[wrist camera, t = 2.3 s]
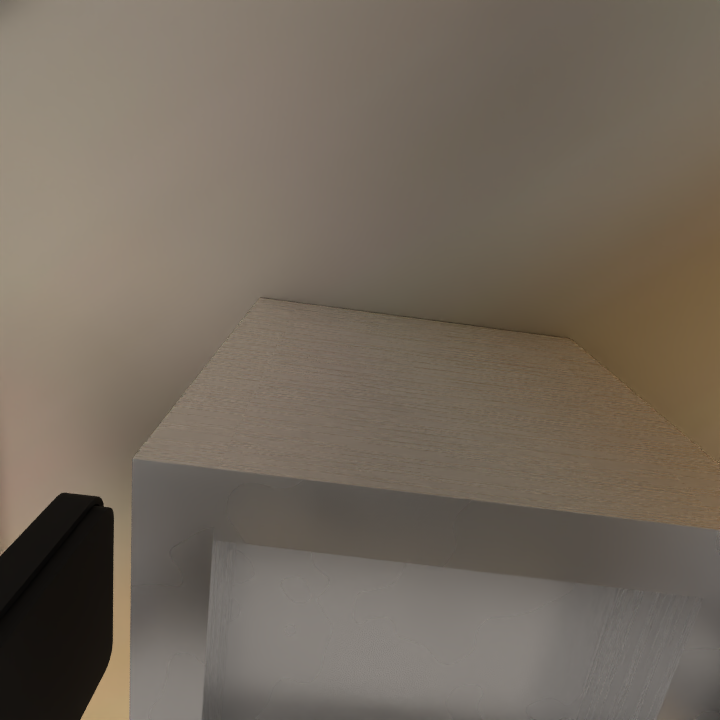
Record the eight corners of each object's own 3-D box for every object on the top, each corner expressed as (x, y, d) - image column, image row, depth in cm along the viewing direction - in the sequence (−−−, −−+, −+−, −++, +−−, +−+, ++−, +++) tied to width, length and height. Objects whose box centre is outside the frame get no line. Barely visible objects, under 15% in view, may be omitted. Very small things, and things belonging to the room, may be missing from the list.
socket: (259, 297, 12) (132, 457, 6) (570, 338, 12) (809, 540, 6) (238, 561, 14) (127, 909, 8) (505, 593, 14) (624, 956, 8)
